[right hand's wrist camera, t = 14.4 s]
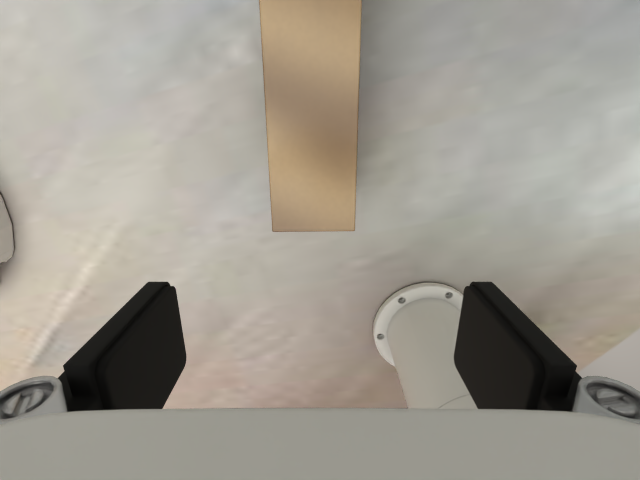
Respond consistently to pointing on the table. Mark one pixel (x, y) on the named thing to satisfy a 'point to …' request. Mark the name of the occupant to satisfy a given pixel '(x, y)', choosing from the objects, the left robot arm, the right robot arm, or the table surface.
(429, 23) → the table surface
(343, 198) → the tan elongated box
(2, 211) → the ashtray
